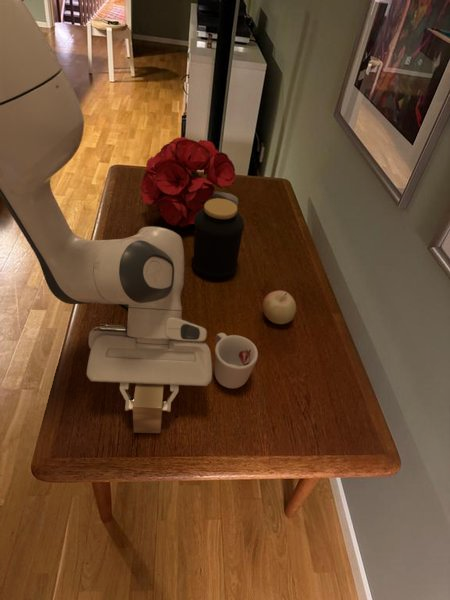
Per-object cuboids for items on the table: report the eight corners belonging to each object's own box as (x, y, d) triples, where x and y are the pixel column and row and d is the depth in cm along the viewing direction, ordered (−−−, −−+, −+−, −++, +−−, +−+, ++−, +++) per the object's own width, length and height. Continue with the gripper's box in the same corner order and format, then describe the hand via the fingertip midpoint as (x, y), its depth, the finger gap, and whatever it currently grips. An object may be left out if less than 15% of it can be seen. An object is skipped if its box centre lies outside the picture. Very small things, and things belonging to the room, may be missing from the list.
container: (179, 265, 102) (184, 202, 90) (212, 248, 109) (220, 188, 97) (214, 290, 97) (224, 227, 85) (245, 270, 104) (258, 209, 92)
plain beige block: (133, 432, 68) (132, 406, 62) (136, 409, 71) (135, 382, 65) (160, 433, 68) (161, 407, 63) (162, 410, 71) (163, 383, 66)
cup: (197, 357, 81) (201, 330, 76) (232, 346, 85) (238, 320, 79) (221, 399, 75) (227, 373, 69) (258, 386, 78) (266, 360, 73)
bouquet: (197, 211, 135) (120, 180, 113) (238, 152, 125) (163, 105, 104) (226, 252, 123) (146, 225, 101) (274, 189, 113) (198, 145, 92)
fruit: (291, 309, 95) (300, 284, 90) (291, 332, 90) (301, 306, 85) (260, 304, 95) (267, 278, 90) (258, 326, 90) (265, 300, 85)
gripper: (85, 323, 62) (78, 413, 62) (216, 331, 65) (210, 417, 64) (93, 322, 68) (87, 404, 68) (212, 329, 71) (207, 408, 70)
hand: (148, 410), depth 66 cm, fingers closed on plain beige block, 4 cm apart
